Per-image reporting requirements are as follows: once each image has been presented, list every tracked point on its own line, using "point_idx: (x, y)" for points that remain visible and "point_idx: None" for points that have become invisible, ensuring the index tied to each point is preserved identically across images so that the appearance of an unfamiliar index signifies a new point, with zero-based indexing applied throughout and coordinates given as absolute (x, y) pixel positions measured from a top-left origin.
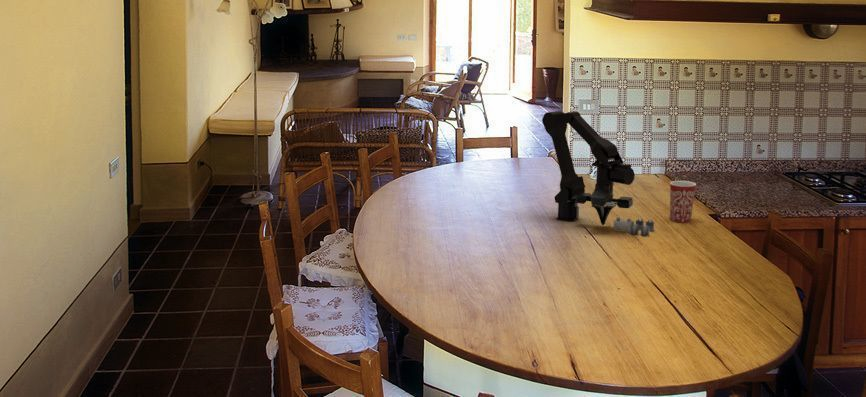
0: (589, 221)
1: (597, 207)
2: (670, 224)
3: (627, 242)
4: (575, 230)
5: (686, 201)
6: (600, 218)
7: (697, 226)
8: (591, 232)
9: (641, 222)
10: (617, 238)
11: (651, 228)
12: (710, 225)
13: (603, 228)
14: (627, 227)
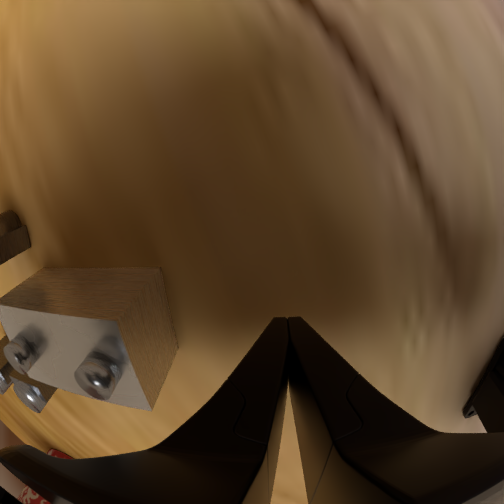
0: (412, 397)
1: (456, 470)
2: (53, 433)
3: (6, 25)
4: (474, 93)
5: (21, 494)
6: (322, 351)
7: (9, 415)
8: (330, 64)
9: (18, 373)
10: (54, 39)
11: (2, 343)
12: (7, 424)
13: (269, 282)
14: (37, 283)
